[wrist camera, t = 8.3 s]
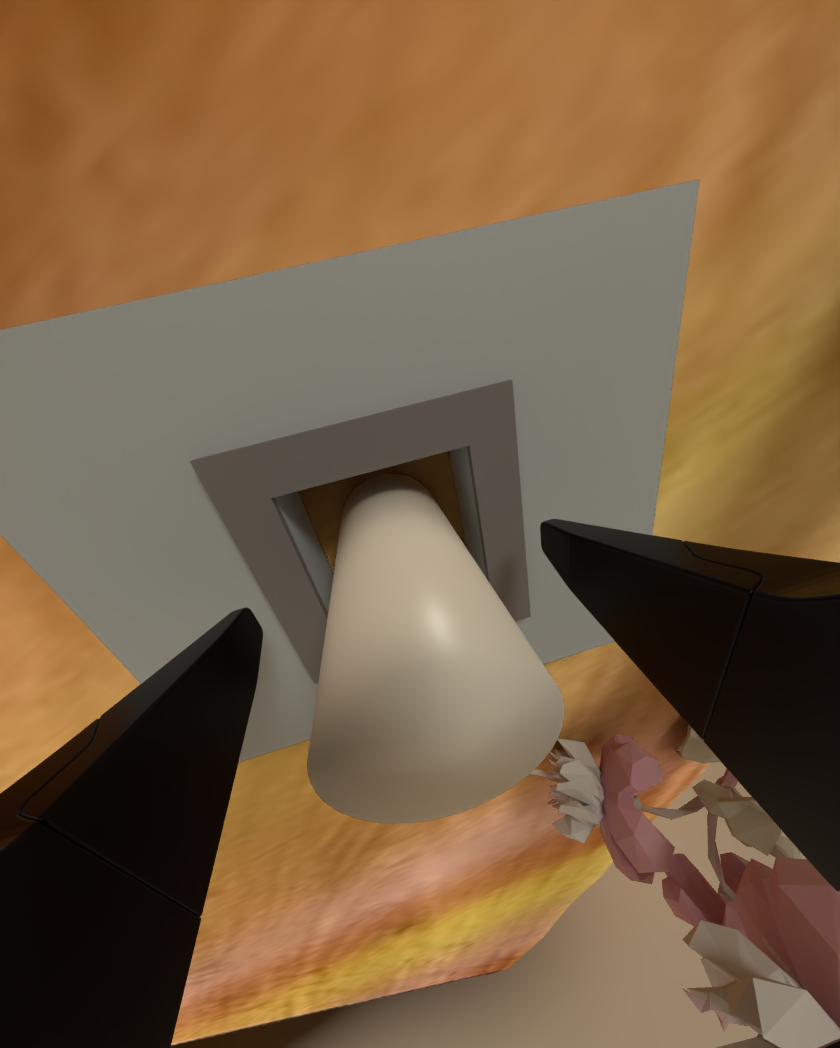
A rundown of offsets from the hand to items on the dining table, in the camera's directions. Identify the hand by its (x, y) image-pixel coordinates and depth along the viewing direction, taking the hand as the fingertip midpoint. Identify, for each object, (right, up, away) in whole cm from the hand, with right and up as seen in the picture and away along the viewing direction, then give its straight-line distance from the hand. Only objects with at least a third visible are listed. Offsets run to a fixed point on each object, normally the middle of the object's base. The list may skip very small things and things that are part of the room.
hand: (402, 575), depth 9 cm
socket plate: (-1, +2, +4) cm, 4 cm away
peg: (-1, +2, +4) cm, 4 cm away
